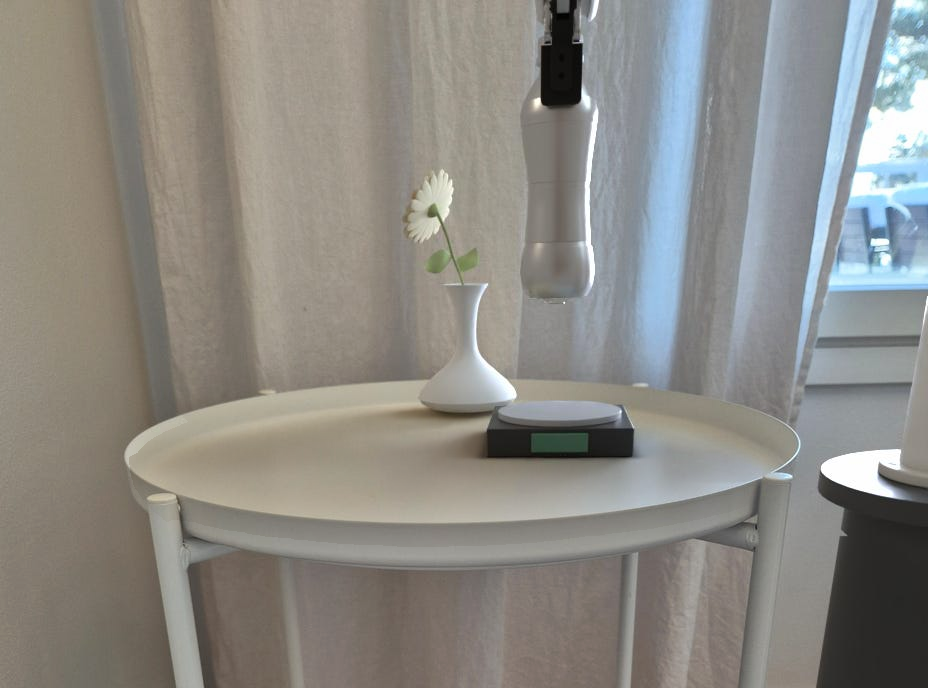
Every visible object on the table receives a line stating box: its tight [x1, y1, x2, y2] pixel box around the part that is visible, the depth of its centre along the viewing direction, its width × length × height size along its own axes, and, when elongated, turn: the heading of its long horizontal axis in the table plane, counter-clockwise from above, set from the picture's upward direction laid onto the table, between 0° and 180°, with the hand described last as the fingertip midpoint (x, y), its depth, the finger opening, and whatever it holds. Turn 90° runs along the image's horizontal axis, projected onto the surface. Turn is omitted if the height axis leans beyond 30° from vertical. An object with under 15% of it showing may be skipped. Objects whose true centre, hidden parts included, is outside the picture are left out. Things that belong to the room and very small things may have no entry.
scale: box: [486, 399, 635, 458], centre depth 85 cm, size 13×14×3 cm
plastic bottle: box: [519, 33, 599, 305], centre depth 75 cm, size 6×7×20 cm
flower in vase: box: [401, 168, 518, 414], centre depth 98 cm, size 13×11×25 cm
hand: (560, 109), depth 73 cm, fingers closed on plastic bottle, 6 cm apart
